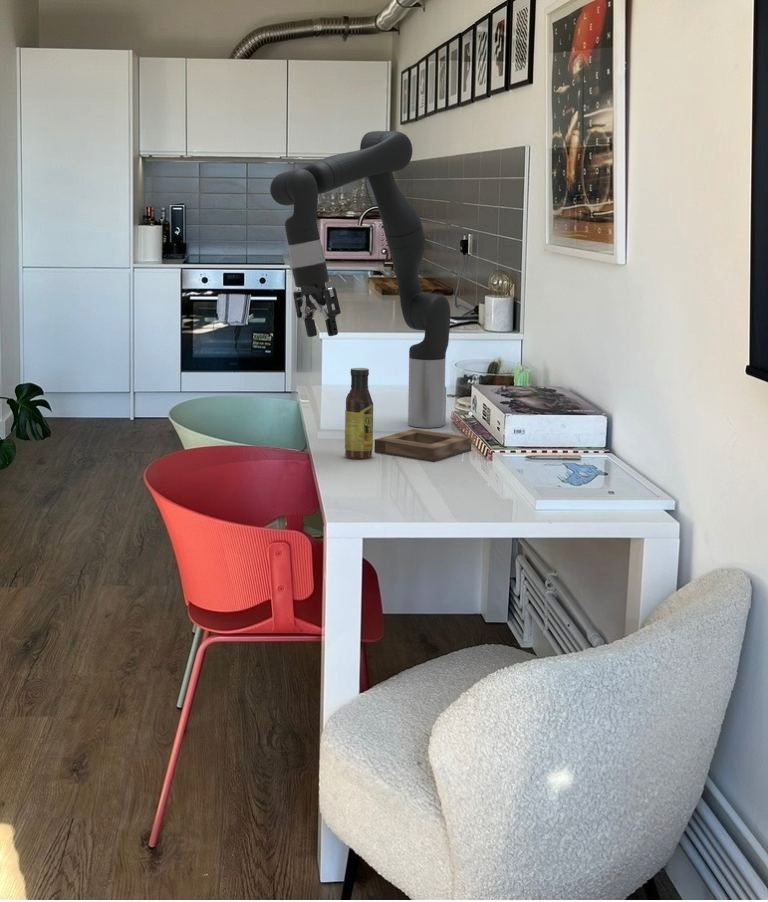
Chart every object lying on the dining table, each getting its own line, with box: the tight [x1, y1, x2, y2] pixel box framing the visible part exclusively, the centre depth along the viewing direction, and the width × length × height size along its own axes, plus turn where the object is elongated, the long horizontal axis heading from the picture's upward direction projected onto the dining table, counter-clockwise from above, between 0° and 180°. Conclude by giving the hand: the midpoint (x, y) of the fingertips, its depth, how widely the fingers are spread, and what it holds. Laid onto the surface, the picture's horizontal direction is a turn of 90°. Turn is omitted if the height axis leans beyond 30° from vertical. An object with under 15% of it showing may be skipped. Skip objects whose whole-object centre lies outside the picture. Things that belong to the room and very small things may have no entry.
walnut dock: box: [373, 428, 473, 463], centre depth 277 cm, size 16×16×3 cm
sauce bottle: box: [344, 367, 374, 460], centre depth 268 cm, size 6×6×20 cm
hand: (322, 335), depth 267 cm, fingers open, 8 cm apart
